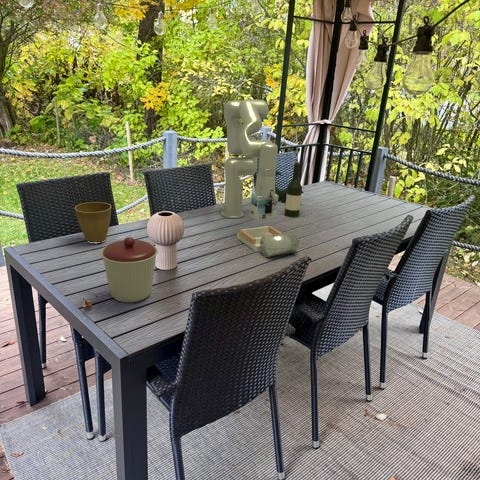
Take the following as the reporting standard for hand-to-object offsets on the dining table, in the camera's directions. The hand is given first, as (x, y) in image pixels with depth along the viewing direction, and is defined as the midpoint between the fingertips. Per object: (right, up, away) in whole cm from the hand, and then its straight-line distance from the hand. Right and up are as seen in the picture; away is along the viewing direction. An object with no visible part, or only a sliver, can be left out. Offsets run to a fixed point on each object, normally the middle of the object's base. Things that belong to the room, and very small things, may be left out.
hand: (263, 210), depth 191 cm
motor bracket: (+2, -16, +2) cm, 16 cm away
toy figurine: (+17, +11, +72) cm, 75 cm away
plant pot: (-75, -14, -5) cm, 76 cm away
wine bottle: (+18, +1, +47) cm, 50 cm away
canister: (-48, -32, -47) cm, 74 cm away
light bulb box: (0, -3, +1) cm, 3 cm away
